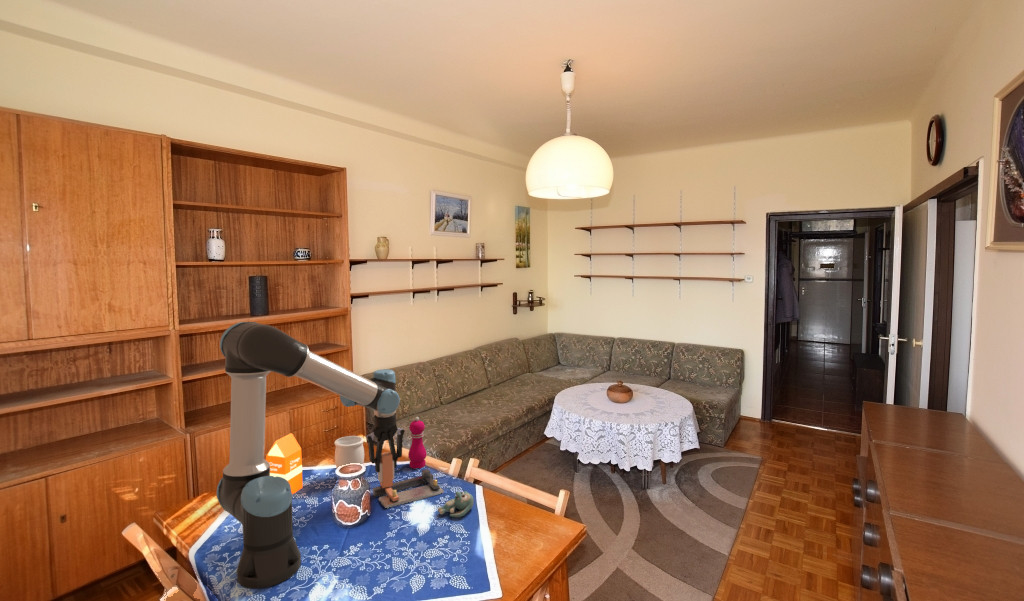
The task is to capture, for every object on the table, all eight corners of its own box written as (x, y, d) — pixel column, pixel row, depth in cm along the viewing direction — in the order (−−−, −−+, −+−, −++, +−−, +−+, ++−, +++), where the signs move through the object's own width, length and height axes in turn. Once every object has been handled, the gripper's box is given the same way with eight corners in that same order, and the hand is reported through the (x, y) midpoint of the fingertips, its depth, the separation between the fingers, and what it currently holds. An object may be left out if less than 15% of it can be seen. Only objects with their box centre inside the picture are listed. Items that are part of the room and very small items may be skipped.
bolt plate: (443, 493, 172) (443, 490, 172) (385, 509, 160) (385, 506, 160) (435, 485, 178) (435, 482, 177) (378, 500, 166) (378, 497, 166)
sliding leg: (401, 499, 164) (400, 463, 163) (390, 501, 162) (390, 465, 161) (389, 485, 174) (389, 451, 173) (380, 488, 172) (379, 453, 171)
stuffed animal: (431, 492, 161) (465, 479, 165) (435, 512, 162) (469, 498, 167) (441, 507, 151) (476, 493, 156) (445, 528, 152) (480, 513, 157)
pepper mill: (430, 465, 195) (429, 416, 193) (415, 471, 190) (414, 421, 188) (419, 460, 200) (418, 412, 198) (404, 465, 195) (404, 417, 193)
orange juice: (267, 496, 169) (265, 440, 167) (284, 485, 178) (282, 431, 176) (286, 498, 167) (284, 442, 166) (303, 487, 176) (301, 433, 174)
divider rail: (443, 490, 173) (443, 478, 173) (382, 507, 161) (382, 494, 161) (431, 479, 182) (431, 468, 182) (372, 494, 170) (372, 482, 170)
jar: (370, 477, 184) (369, 438, 183) (348, 488, 175) (347, 447, 174) (352, 470, 190) (351, 433, 189) (329, 480, 181) (328, 441, 180)
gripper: (404, 407, 177) (405, 469, 179) (358, 415, 168) (359, 480, 170) (411, 412, 171) (412, 477, 173) (364, 421, 162) (365, 489, 164)
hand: (386, 478), depth 171 cm, fingers closed on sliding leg, 3 cm apart
